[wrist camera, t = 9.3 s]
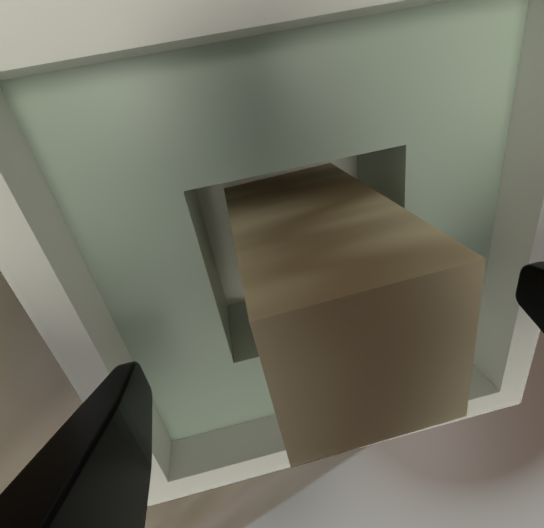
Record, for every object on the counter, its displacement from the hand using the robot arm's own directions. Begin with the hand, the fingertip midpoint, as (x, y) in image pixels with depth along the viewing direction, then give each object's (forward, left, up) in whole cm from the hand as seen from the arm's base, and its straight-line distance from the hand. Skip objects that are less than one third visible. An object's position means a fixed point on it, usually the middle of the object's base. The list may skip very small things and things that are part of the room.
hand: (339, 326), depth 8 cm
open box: (0, 0, -7) cm, 7 cm away
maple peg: (0, 0, -6) cm, 6 cm away
